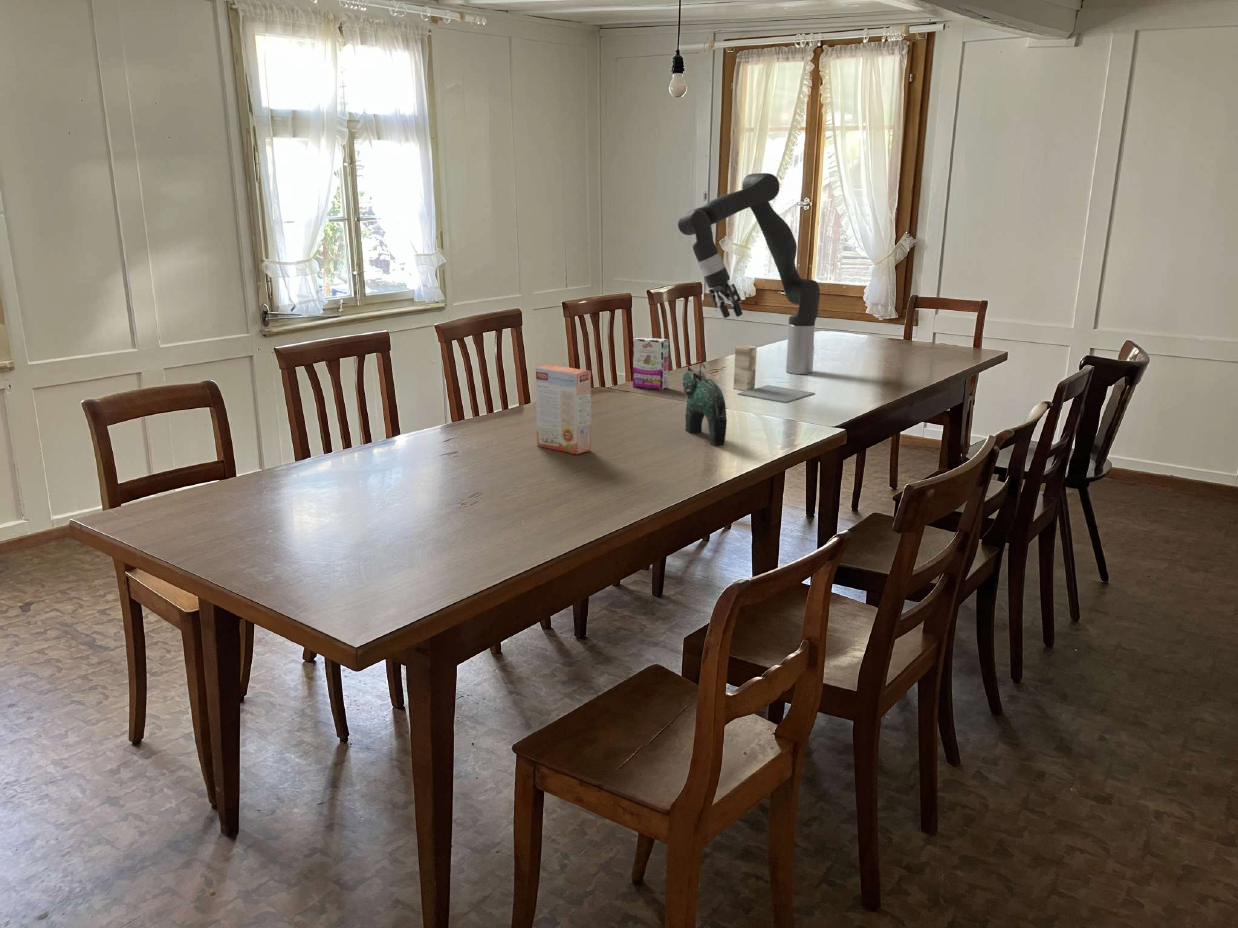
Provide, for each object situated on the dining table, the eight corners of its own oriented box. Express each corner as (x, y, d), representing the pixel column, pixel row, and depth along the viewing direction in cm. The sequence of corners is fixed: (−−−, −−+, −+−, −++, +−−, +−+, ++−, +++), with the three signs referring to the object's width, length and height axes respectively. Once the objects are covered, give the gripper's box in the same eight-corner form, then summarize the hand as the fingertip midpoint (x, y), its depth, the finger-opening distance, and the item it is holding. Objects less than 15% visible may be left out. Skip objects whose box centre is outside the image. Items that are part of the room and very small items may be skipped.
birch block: (742, 386, 327) (744, 345, 323) (754, 388, 324) (756, 347, 320) (733, 388, 323) (735, 347, 319) (746, 391, 320) (748, 348, 316)
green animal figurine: (679, 429, 270) (681, 358, 265) (700, 427, 272) (702, 357, 267) (710, 447, 252) (713, 371, 247) (732, 445, 255) (735, 370, 249)
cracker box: (592, 450, 248) (592, 370, 243) (576, 455, 244) (576, 373, 238) (551, 441, 257) (550, 363, 251) (536, 446, 252) (534, 366, 246)
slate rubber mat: (767, 386, 328) (767, 385, 328) (814, 394, 316) (814, 392, 316) (737, 394, 315) (737, 393, 315) (785, 403, 303) (785, 401, 303)
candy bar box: (668, 388, 324) (669, 339, 319) (662, 390, 319) (663, 341, 315) (638, 384, 329) (639, 336, 324) (631, 387, 324) (632, 338, 320)
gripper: (733, 263, 306) (753, 310, 310) (713, 267, 319) (732, 312, 324) (714, 273, 304) (734, 320, 308) (694, 277, 317) (714, 322, 322)
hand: (733, 316), depth 316 cm, fingers open, 8 cm apart
